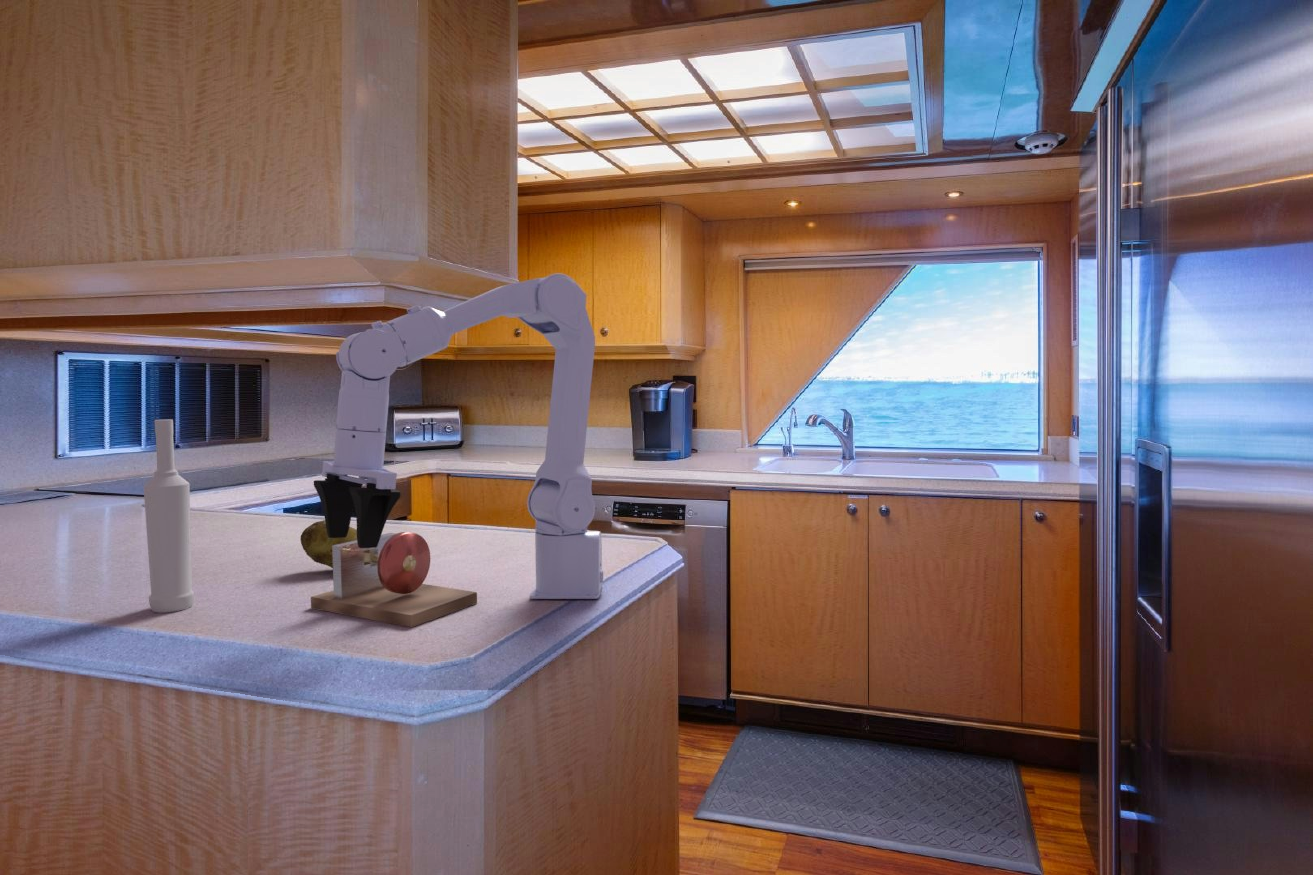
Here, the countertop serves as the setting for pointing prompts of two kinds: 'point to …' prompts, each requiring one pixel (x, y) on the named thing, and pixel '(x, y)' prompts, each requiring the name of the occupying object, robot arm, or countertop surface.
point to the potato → (324, 543)
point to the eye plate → (355, 569)
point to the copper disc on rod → (402, 562)
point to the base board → (398, 604)
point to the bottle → (168, 529)
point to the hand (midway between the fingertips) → (352, 542)
